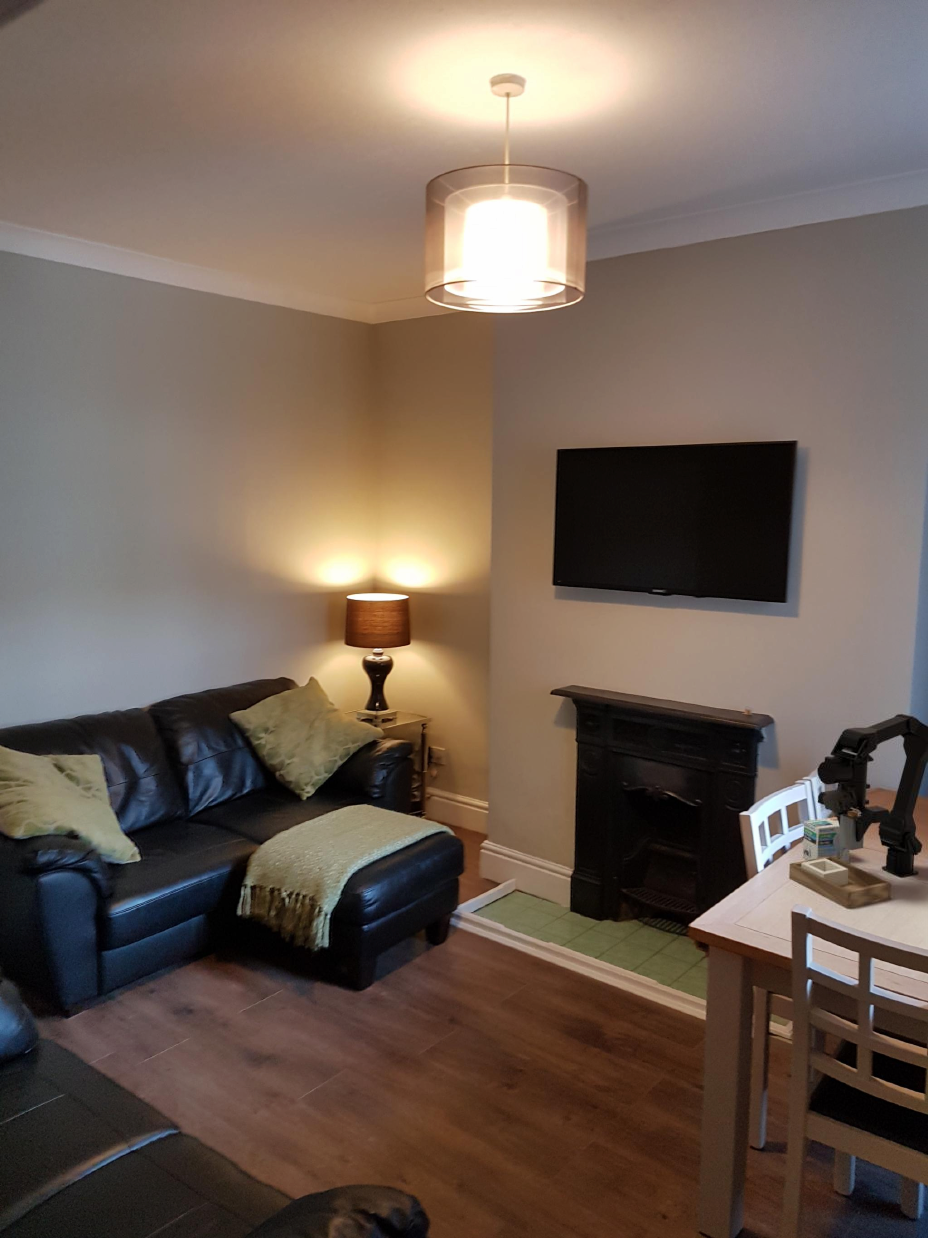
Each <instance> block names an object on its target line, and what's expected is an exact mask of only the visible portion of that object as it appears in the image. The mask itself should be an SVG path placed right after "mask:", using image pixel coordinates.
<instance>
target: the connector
mask: <svg viewBox="0 0 928 1238" xmlns="http://www.w3.org/2000/svg"><path fill="white" fill-rule="evenodd" d="M858 814H859V812H857V811H854V810H853V811H848V814H843V815H841V818H840V838H839V845H840V846H842V847H845V848H847V849H849V850H850V851H854V850H859V849H864V842H865V841H864V836H865V835H864V836H863V838H862V839H861V841H860V842H856V822H855V821H854V819H853V818H852V817H856V816H858Z"/></svg>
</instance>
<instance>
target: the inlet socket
mask: <svg viewBox="0 0 928 1238" xmlns="http://www.w3.org/2000/svg"><path fill="white" fill-rule="evenodd" d="M801 867H802V868H804V869H806V870H808V871H810V872H812V873H814V874H816V875H818V876H820V877H822V878H824V879H826V880H828V881H830V882H832V883H834V884H836V885H838V886H841V885H846V884H848V869H847V868H845V867H843V866H840V865H838V864H836V863H834V862H832V861H830V860H828V859H826V858H825V859H819V860H814V861H809V862H804V863H801Z"/></svg>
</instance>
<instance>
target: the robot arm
mask: <svg viewBox="0 0 928 1238" xmlns="http://www.w3.org/2000/svg"><path fill="white" fill-rule="evenodd" d="M898 736H900V737H901V738H903V743H902V747H903V751H904V753H905V761H904V766H903V769H902V772H901V777H900V779H899V780H900V781H899V782H898V783H899V784H898V788H897V791H896V795H895V799H894V803H893V806H892V809H891V810H889V809H887V808H884V807H882V806H879V805H873V806H872V805H871V806H866V805H870V799H867V789H870V788H871V784H870V783H868V782H867V781H868V778H867V777H868V762H870V763H871V762H874V761H875V760H874V757H872V756H871V755H870V754H871V753H873V752H874V751H876V750H877V749H878V746H879V745H880V744H883V743H885V742H887V741H889V740H892V739H894V738H897V737H898ZM830 755H831V756H829V755H828V756H825V757H824V761H821V763H819V765H818V767H817V770H816V771H817V777H818V779H819V781H821V782H822V784H825V785H826V786H829V785H835V784H836V785H837V786H836V789H833V790H832V789H831V790H825V791H821V792H819V794H818V795H817V804H820V805H823V806H824V808H825V810H829V811H831V812H832V813H833V814H834V815H835V817H836V818H837V819H838V822H839V825H840V818H841V815H843V814H848V811H855V812H858V816H856V817H852V818H853V819H854V821H855V822H856V842H860V841H861V839H862V838H863V836H865V834H866V833H867V831H868V829H869V828H870V826H871V825H872V824H879V825H878V826H877V828H878V836H879V839H880V843H881V846H883V847H886V848H887V852H886V857H885V858H886V860H885V865H883V866H881V869H882V870H883V871H886V872H888V873H891V874H893V875H895V876H897V877H901V878H902V877H907V876H913V875H918V874H919V870H916V869H915V868H914V864H915V856H918V855H919V854H920V853H921V852H922V849H923V844H922V842H921V841H920V840H919V838H917V836H916V833H917V832H916V831H917V825H916V823H915V822H916V821H915V819H914V816H913V815H914V812H915V808H916V804H917V801H918V797H919V793H920V789H921V785H922V782H923V779H924V775H925V772H926V767H927V765H928V725H927V724H924V723H923V722H922V721H920V720H919V719H918V718H916V717H915V716H912V715H909V714H904V713H897V714H895V716H894V717H891V718H888V719H885V720H883V721H881V722H880V721H879V723H878V722H877V723H876V724H872V725H871V726H867V727H849V728H846V729H844V730H843V731H842V732H841V734H840V736H839V738H838V739H837V741H836V743H835V745H834V746H833V748H832V750H831V752H830Z"/></svg>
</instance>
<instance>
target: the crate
mask: <svg viewBox="0 0 928 1238" xmlns="http://www.w3.org/2000/svg"><path fill="white" fill-rule="evenodd" d="M825 858H826V859H828V860H830V861H832V862H834V863H836V864H838V865H840V866H843V867H845V868H847V869H848V884H846V885H841V886H838V885H836V884H834V883H832V882H830V881H828V880H826V879H824V878H822V877H820V876H818V875H816V874H814V873H812V872H810V871H808V870H806V869H804V868H802V867H801V863H804V862H809V861H814V860H819V859H825ZM788 872H789V873H788V874H789V875H788V876H789V880H791V881H793V882H796V883H797V884H799V885H801V886H803V887H805V888H807V889H809V890H811V891H813V892H815V893H817V894H818V895H821V896H822V897H824V898H826V899H828V900H830V901H831V902H833V903H836V904H838V905H840V906H842V907H843V908H845V909H851V908H855V907H860V906H866V905H870V904H873V903H878V902H882V901H887V900H891V899H892V882H890V881H887V880H886V879H883V878H881V877H878V876H876V875H874V874H871V873H870V872H867V871H865V870H864V869H862V868H860V867H859V868H858V867H856V866H854V865H852V864H850V863H849V862H848V863H846V862H844V861H842V860H840V859H837V858H835V857H833V856H827V857H822V858H817V859H812V860H806V859H805V860H803V861H797V862H791V863H789V871H788Z"/></svg>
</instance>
